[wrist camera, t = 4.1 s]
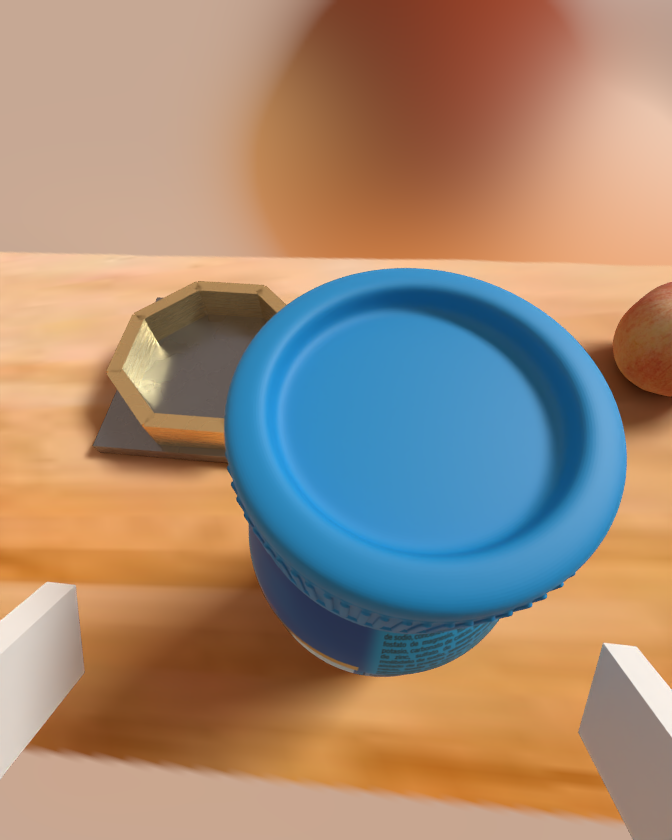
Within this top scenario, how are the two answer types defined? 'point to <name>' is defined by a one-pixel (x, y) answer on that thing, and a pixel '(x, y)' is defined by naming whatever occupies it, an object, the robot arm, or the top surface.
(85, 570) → the top surface
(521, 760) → the top surface
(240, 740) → the top surface
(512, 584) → the beverage bottle
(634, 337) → the apple
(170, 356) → the flange base
